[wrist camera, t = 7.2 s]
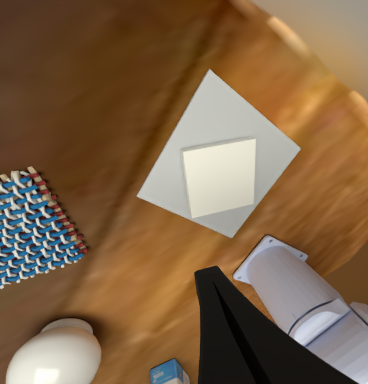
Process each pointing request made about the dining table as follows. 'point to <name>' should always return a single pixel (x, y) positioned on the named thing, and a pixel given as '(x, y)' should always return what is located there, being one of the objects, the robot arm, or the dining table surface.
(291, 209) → the dining table surface
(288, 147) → the felt pad
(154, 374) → the ink box
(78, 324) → the flower vase
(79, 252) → the woven mat
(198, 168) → the tile
